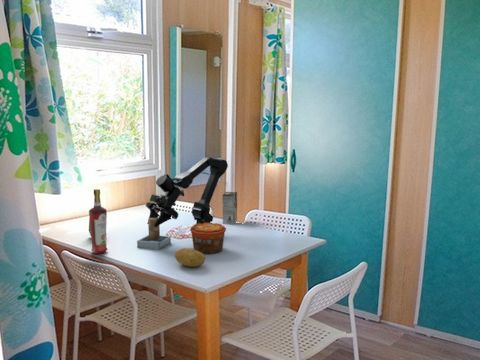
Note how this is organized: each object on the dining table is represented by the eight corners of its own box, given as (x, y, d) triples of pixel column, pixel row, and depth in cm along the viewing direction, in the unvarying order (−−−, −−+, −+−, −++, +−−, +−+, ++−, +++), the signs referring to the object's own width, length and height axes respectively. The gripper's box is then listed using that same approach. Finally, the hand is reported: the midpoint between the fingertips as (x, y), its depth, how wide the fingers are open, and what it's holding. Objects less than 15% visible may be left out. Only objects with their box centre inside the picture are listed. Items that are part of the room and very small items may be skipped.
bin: (170, 242, 228) (170, 236, 228) (159, 249, 218) (159, 243, 217) (149, 240, 232) (149, 234, 231) (137, 247, 221) (137, 240, 221)
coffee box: (226, 219, 273) (226, 191, 270) (237, 220, 271) (237, 191, 269) (222, 223, 264) (222, 194, 261) (233, 224, 262) (233, 195, 260)
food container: (212, 257, 207) (212, 233, 206) (182, 251, 216) (182, 227, 214) (232, 248, 221) (233, 225, 219) (204, 242, 229) (204, 220, 227)
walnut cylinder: (160, 237, 227) (159, 217, 225) (159, 240, 222) (158, 219, 220) (149, 237, 227) (148, 217, 225) (148, 240, 222) (147, 220, 220)
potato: (192, 272, 190) (192, 255, 189) (170, 265, 198) (169, 249, 197) (208, 266, 197) (208, 249, 196) (186, 259, 205) (186, 243, 204)
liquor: (101, 248, 218) (99, 187, 214) (111, 252, 214) (109, 189, 209) (87, 252, 213) (84, 189, 208) (97, 256, 208) (94, 191, 204)
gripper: (148, 185, 230) (128, 211, 224) (172, 190, 217) (152, 218, 211) (162, 199, 236) (144, 225, 231) (186, 205, 223) (167, 233, 218)
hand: (151, 225), depth 222 cm, fingers closed on walnut cylinder, 5 cm apart
